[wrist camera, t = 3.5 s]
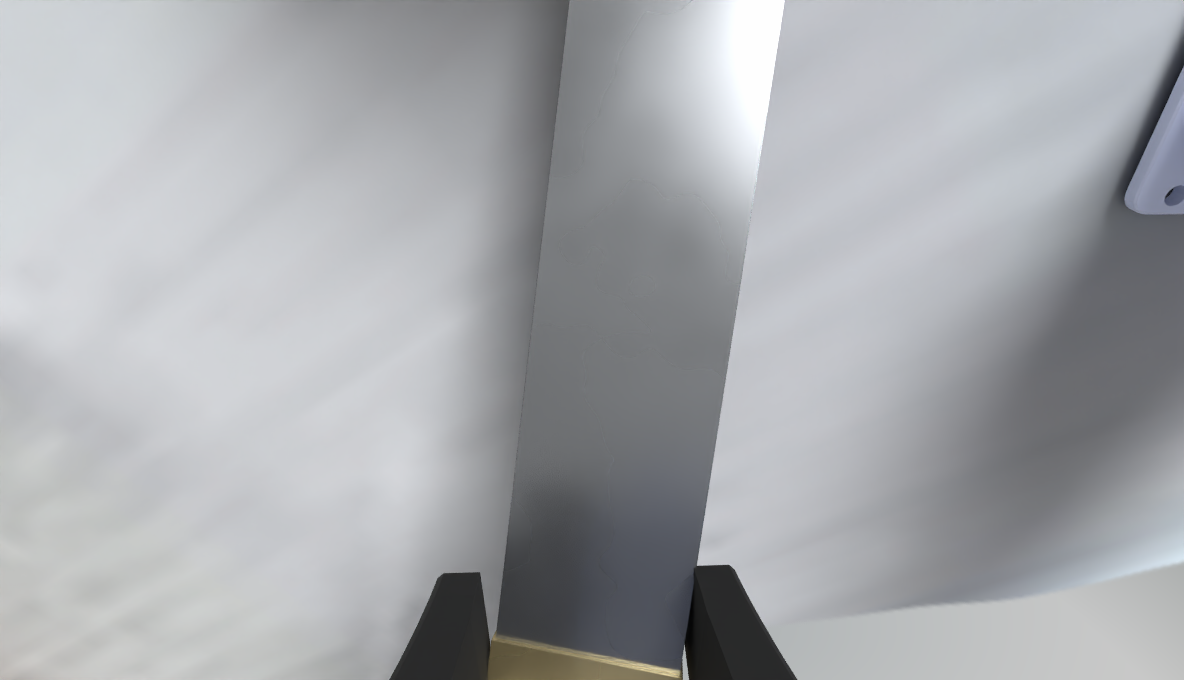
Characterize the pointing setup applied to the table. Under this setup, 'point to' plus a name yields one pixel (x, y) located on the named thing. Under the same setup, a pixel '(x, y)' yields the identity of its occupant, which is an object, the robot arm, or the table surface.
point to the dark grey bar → (631, 332)
